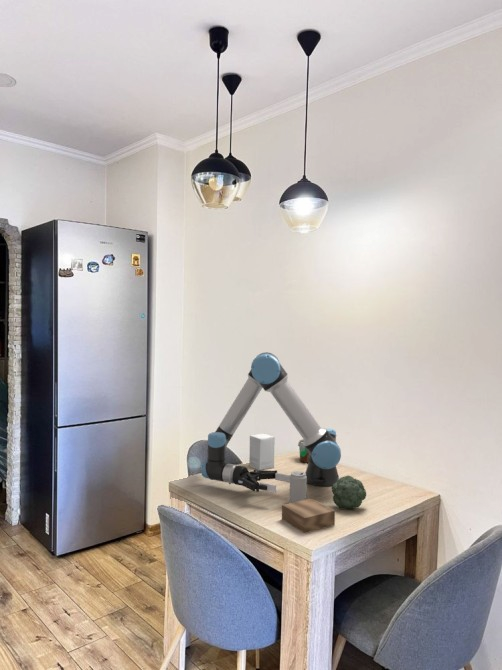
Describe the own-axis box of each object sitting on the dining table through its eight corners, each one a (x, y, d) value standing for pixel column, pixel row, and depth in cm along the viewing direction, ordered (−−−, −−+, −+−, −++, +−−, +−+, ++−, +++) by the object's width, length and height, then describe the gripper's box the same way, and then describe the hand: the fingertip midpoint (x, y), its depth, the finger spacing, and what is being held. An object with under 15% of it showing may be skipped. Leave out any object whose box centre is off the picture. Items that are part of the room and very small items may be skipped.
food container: (296, 457, 248) (297, 438, 247) (308, 457, 247) (309, 438, 247) (298, 464, 235) (298, 444, 235) (311, 464, 235) (311, 444, 235)
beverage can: (305, 508, 179) (306, 476, 179) (288, 506, 181) (289, 474, 180) (306, 502, 186) (307, 471, 185) (290, 500, 187) (291, 469, 187)
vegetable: (368, 494, 189) (373, 489, 175) (347, 519, 186) (351, 516, 172) (344, 473, 193) (347, 466, 180) (323, 497, 190) (325, 492, 176)
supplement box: (274, 467, 229) (275, 436, 229) (259, 470, 224) (260, 438, 224) (263, 463, 237) (264, 432, 236) (248, 465, 232) (249, 435, 231)
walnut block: (310, 512, 176) (311, 498, 175) (334, 525, 165) (334, 510, 164) (281, 519, 169) (282, 505, 169) (304, 533, 158) (305, 518, 158)
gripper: (250, 475, 207) (295, 484, 196) (219, 493, 185) (268, 503, 175) (250, 458, 206) (296, 466, 196) (219, 473, 185) (269, 483, 174)
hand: (283, 483), depth 185 cm, fingers open, 13 cm apart
